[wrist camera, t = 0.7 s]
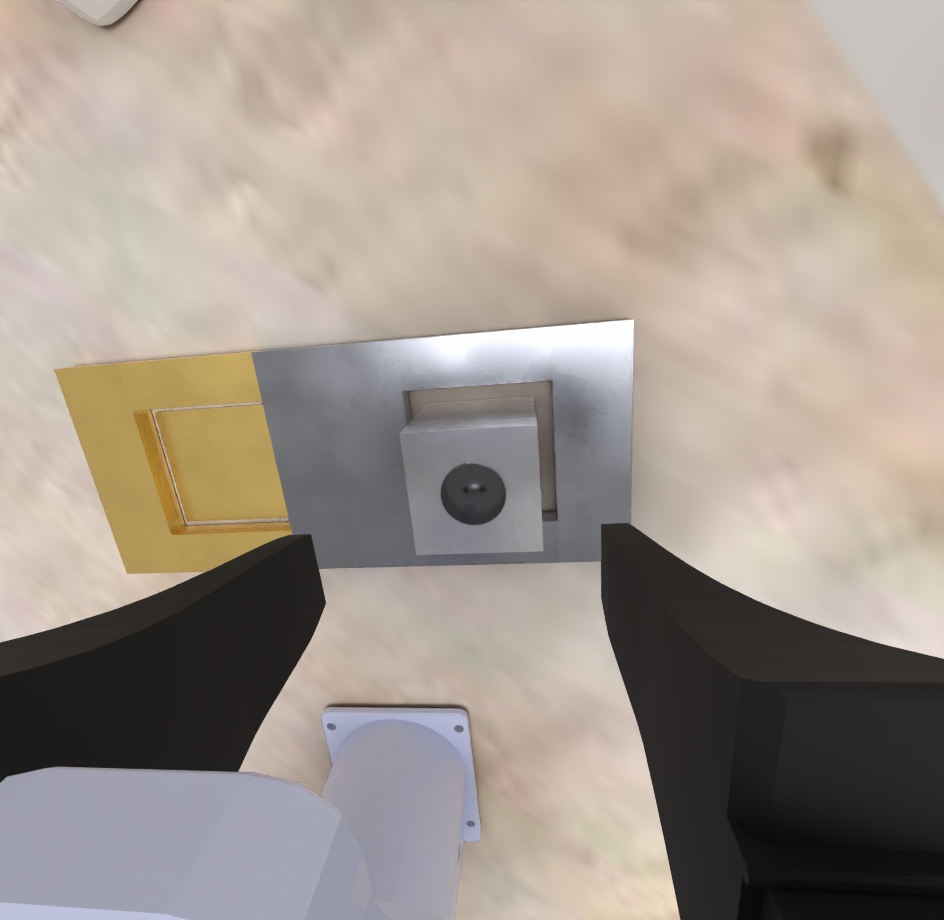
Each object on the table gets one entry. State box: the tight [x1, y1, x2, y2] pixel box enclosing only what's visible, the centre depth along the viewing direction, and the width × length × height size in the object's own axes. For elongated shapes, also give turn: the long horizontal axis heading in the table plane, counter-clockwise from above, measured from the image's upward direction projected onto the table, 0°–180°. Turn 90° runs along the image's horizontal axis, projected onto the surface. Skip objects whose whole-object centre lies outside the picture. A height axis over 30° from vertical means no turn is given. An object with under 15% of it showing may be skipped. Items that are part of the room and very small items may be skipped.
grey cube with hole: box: [399, 396, 543, 555], centre depth 18 cm, size 4×4×5 cm
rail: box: [54, 319, 634, 574], centre depth 21 cm, size 10×24×1 cm, turn 95°
